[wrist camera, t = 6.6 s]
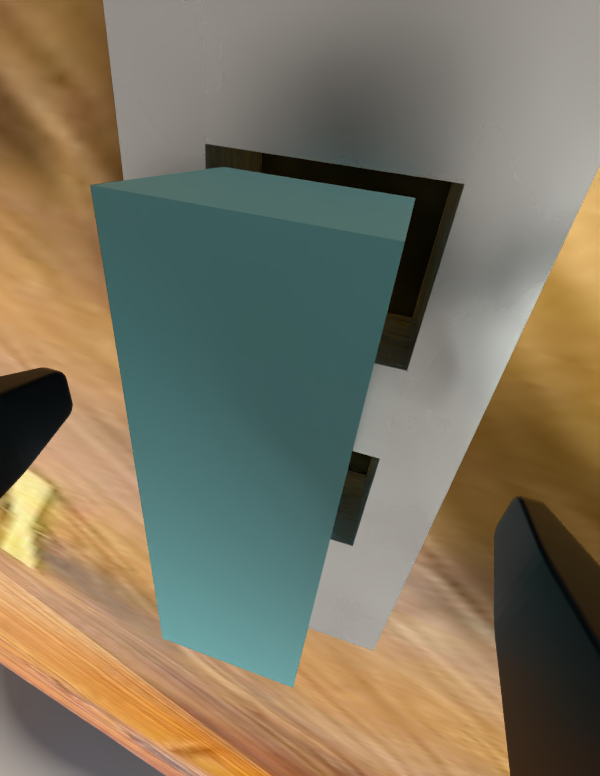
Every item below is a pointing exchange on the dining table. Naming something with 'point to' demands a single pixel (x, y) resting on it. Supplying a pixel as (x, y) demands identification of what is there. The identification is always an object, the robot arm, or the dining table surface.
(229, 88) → the rail
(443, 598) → the dining table surface
